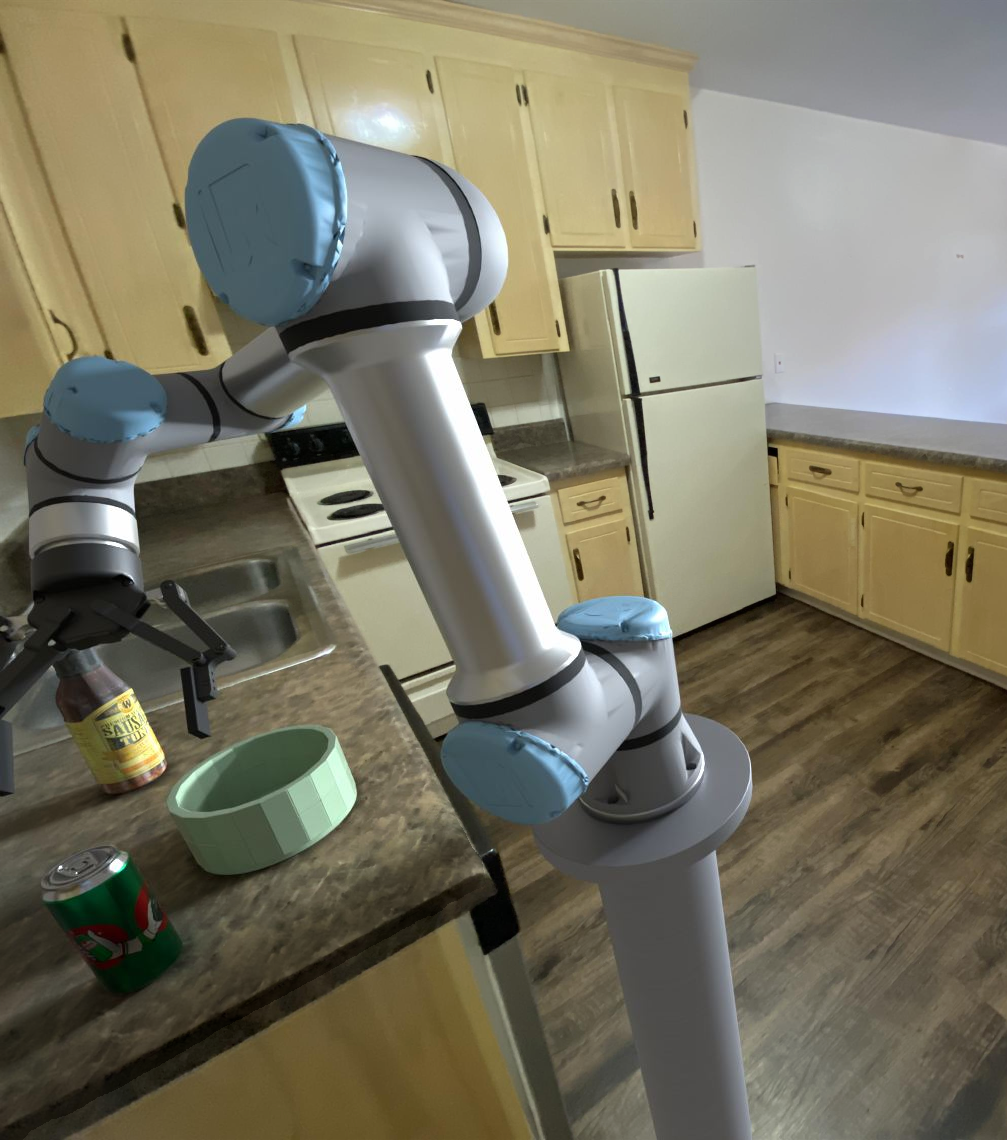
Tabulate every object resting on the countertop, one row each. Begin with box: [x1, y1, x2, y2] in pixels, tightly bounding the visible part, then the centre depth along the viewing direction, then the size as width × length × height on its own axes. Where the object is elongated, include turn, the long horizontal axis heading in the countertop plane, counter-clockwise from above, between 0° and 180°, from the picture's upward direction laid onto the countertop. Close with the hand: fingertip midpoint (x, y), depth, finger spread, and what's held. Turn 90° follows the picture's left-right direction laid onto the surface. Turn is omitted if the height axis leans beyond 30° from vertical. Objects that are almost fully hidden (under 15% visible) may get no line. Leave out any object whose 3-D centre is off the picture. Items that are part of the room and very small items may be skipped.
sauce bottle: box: [48, 640, 168, 795], centre depth 74 cm, size 6×6×20 cm
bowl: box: [165, 724, 358, 876], centre depth 68 cm, size 15×15×8 cm
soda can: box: [40, 843, 184, 995], centre depth 51 cm, size 5×5×12 cm
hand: (103, 762), depth 55 cm, fingers open, 13 cm apart
